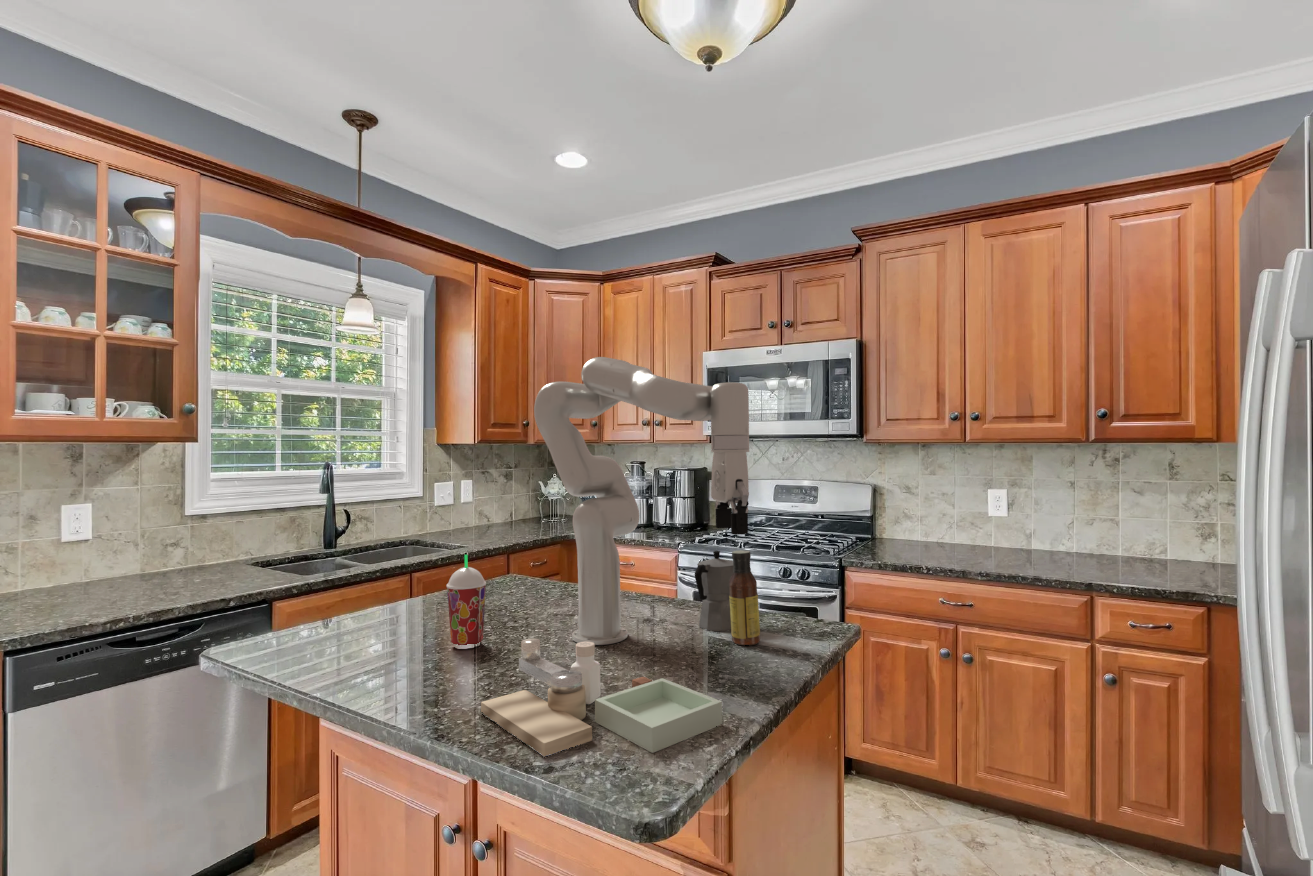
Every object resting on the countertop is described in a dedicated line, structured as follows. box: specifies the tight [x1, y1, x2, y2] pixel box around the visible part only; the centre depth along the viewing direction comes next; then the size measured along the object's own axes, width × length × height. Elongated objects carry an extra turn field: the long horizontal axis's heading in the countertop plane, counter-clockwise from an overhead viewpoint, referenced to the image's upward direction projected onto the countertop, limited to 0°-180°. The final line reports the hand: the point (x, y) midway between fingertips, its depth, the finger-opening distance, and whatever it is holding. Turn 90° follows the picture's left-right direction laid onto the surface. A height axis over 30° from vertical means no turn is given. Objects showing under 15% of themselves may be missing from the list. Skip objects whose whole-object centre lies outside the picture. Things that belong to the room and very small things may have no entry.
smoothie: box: [446, 554, 487, 645], centre depth 143 cm, size 8×8×20 cm
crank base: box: [480, 676, 653, 756], centre depth 106 cm, size 20×27×4 cm
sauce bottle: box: [729, 549, 761, 646], centre depth 142 cm, size 7×6×20 cm
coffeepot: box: [694, 550, 733, 632], centre depth 154 cm, size 15×9×18 cm, turn 142°
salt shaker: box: [570, 641, 602, 705], centre depth 111 cm, size 4×4×10 cm
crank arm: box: [518, 637, 582, 694], centre depth 108 cm, size 16×5×5 cm, turn 40°
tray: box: [594, 677, 723, 754], centre depth 101 cm, size 14×14×4 cm
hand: (731, 530), depth 129 cm, fingers open, 9 cm apart
